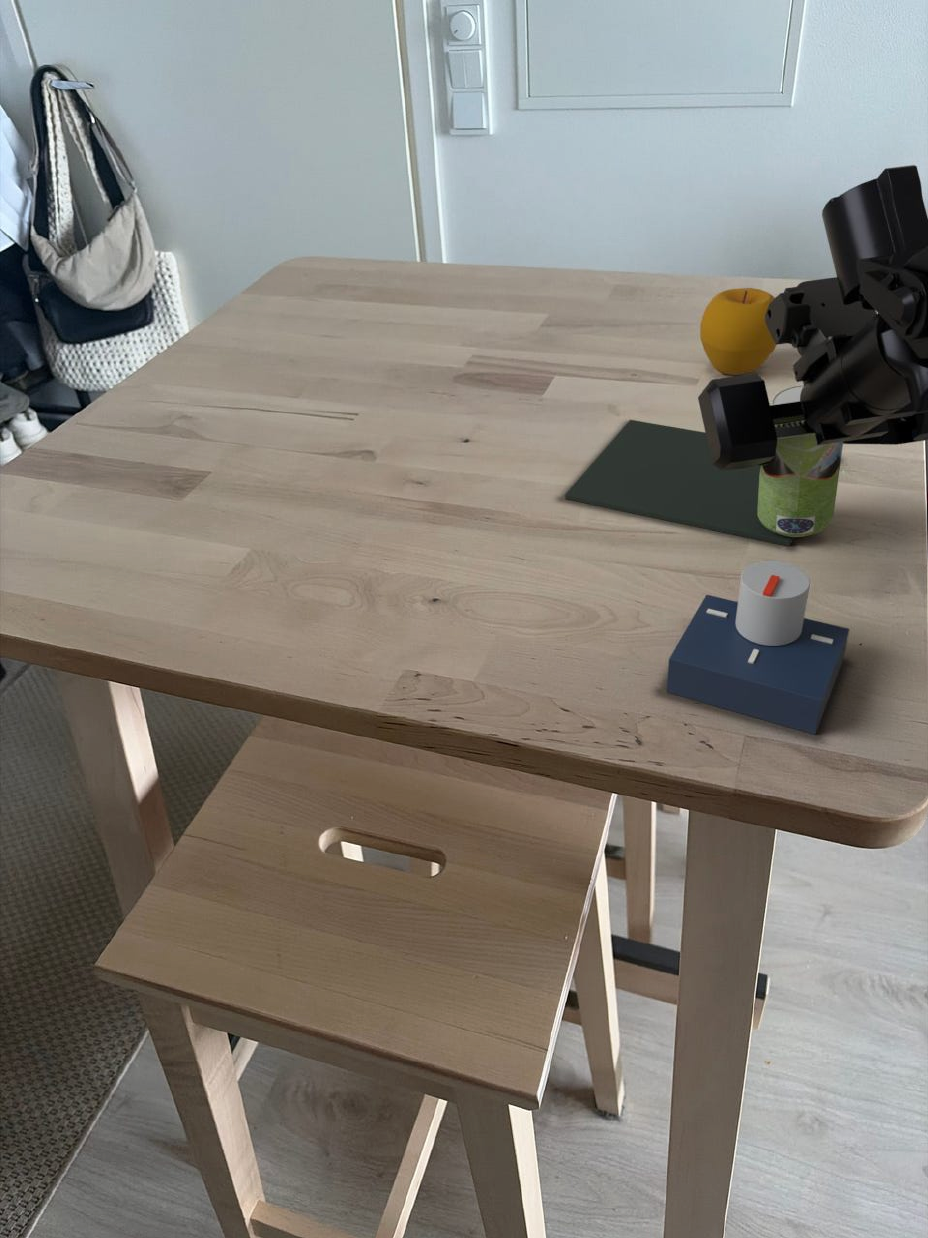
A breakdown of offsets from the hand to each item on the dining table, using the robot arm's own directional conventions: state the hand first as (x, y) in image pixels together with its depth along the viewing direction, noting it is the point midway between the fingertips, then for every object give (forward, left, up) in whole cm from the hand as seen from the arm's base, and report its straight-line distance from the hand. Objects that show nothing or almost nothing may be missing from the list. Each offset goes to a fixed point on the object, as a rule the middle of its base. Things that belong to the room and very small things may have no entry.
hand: (787, 445), depth 80 cm
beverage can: (-1, +1, -7) cm, 7 cm away
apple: (+12, -29, -8) cm, 32 cm away
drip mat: (+8, -5, -7) cm, 12 cm away
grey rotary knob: (-4, +18, -4) cm, 19 cm away
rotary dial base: (-4, +19, -7) cm, 21 cm away
